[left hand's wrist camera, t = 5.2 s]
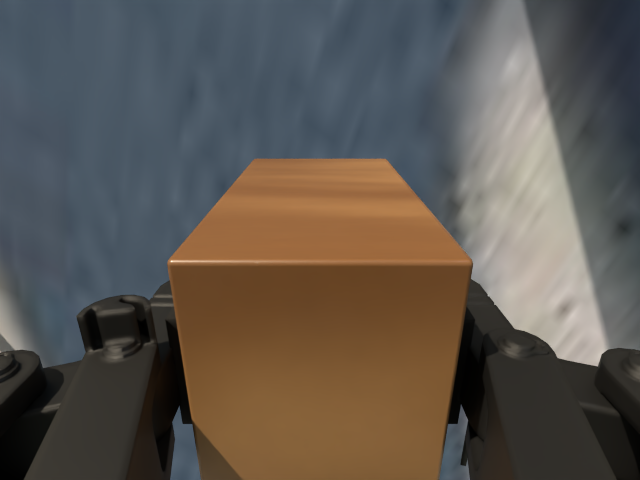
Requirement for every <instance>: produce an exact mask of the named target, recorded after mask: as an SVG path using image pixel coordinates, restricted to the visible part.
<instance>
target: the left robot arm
mask: <svg viewBox="0 0 640 480" xmlns="http://www.w3.org/2000/svg"><path fill="white" fill-rule="evenodd" d="M487 295H488V294H487V293H486V292H485V291H484V289H483V288H482V287H481V286H480V284H478V283H476V282H475V281H473V280H472V279H471V280H470V287H469V293H468V299H467V306H466V312H465V318H464V325H463V331H462V337H461V344H460V350H459V356H458V363H457V369H456V375H455V382H454V388H453V394H452V401H451V407H450V414H449V420H448V424H458V418H459V412H460V406H461V405H462V407H463V409H464V412H465V414H466V416H467V418H468V425H467V430H466V436H465V441H464V447H463V452H462V458H461V465H464V466H466V463H467V458H468V466H469V474H470V480H640V351H639V350H634V349H623V348H616V349H609V350H607V351H606V352H604V353H603V354H602V356H601V359H600V362H599V365H598V367H597V366H592V365H587V364H582V363H577V362H572V361H567V360H563V359H559V358H557V356H556V354H555V352H554V351H553V350H552V348H551V347H550V346H549V345H548V344H547V343H546V342H544V341H543V340H541V339H540V338H539V337H537V336H535V335H532V334H530V333H527V332H525V331H521V330H516V329H514V328H513V326H512V325H511V324H510V323H509V321H508V320H507V319H506V317H505V316H504V315H503V314H502V312H501V311H500V310H499V309H498V307H497V306H496V305H494V302H493V301H492V300H491V298H490V297H488V296H487ZM76 317H77V321H78V324H79V328H80V332H81V336H82V339H83V343H84V347H85V351H86V353H85V355H84V357H83V359H82V360H81V361H77V362H73V363H68V364H63V365H58V366H52V367H47V368H43V367H42V364H41V361H40V358H39V356H38V355H37V354H36V353H34V352H33V351H26V350H16V351H6V352H2V353H0V480H170V475H171V467H172V459H173V450H174V442H175V437H174V430H173V425H172V421H173V419H174V417H175V414H176V412H177V410H178V407H179V405H180V411H181V417H182V422H183V424H192V418H191V412H190V405H189V399H188V393H187V386H186V380H185V373H184V367H183V361H182V354H181V348H180V342H179V335H178V329H177V323H176V316H175V310H174V303H173V297H172V291H171V284H170V280H169V281H168V282H166V283H165V284H163V285H161V286H160V288H159V289H158V290H157V291H156V293H155V294H154V295H153V298H151V299H150V300H148V299H146V298H145V297H142V296H137V295H120V296H115V297H109V298H106V299H103V300H100V301H97V302H95V303H93V304H91V305H89V306H88V307H86V308H84V309H83V310H82V311H81V312H80V313H79V314H78V315H77V316H76Z"/></svg>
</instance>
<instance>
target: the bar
mask: <svg viewBox="0 0 640 480" xmlns="http://www.w3.org/2000/svg"><path fill="white" fill-rule="evenodd" d="M167 265H168V272H169V278H170V284H171V291H172V297H173V303H174V310H175V316H176V323H177V329H178V335H179V342H180V348H181V354H182V361H183V367H184V373H185V380H186V386H187V393H188V399H189V405H190V412H191V418H192V424H193V431H194V437H195V444H196V450H197V456H198V463H199V469H200V475H201V480H439V477H440V471H441V464H442V458H443V452H444V445H445V439H446V433H447V426H448V420H449V414H450V407H451V401H452V394H453V388H454V382H455V375H456V369H457V363H458V356H459V350H460V344H461V337H462V331H463V325H464V318H465V312H466V306H467V299H468V293H469V287H470V280H471V274H472V268H473V262H472V260H471V258H470V257H469V256H468V255H467V254H466V252H465V251H464V250H463V249H462V248H461V247H460V245H459V244H458V243H457V242H456V241H455V240H454V238H453V237H452V236H451V235H450V234H449V232H448V231H447V230H446V229H445V228H444V227H443V225H442V224H441V223H440V222H439V221H438V220H437V218H436V217H435V216H434V215H433V214H432V212H431V211H430V210H429V209H428V208H427V207H426V205H425V204H424V203H423V202H422V201H421V200H420V198H419V197H418V196H417V195H416V194H415V192H414V191H413V190H412V189H411V188H410V187H409V185H408V184H407V183H406V182H405V181H404V180H403V178H402V177H401V176H400V175H399V174H398V172H397V171H396V170H395V169H394V168H393V167H392V165H391V164H390V163H389V162H388V161H387V160H386V159H254V160H253V161H252V162H251V163H250V165H249V166H248V167H247V168H246V169H245V171H244V172H243V173H242V174H241V175H240V176H239V178H238V179H237V180H236V181H235V182H234V183H233V185H232V186H231V187H230V188H229V189H228V191H227V192H226V193H225V194H224V195H223V196H222V198H221V199H220V200H219V201H218V202H217V203H216V205H215V206H214V207H213V208H212V209H211V210H210V212H209V213H208V214H207V215H206V216H205V218H204V219H203V220H202V221H201V222H200V223H199V225H198V226H197V227H196V228H195V229H194V230H193V232H192V233H191V234H190V235H189V236H188V238H187V239H186V240H185V241H184V242H183V243H182V245H181V246H180V247H179V248H178V249H177V250H176V252H175V253H174V254H173V255H172V256H171V258H170V259H169V260H168V263H167Z"/></svg>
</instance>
